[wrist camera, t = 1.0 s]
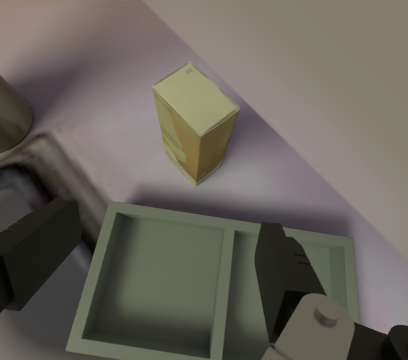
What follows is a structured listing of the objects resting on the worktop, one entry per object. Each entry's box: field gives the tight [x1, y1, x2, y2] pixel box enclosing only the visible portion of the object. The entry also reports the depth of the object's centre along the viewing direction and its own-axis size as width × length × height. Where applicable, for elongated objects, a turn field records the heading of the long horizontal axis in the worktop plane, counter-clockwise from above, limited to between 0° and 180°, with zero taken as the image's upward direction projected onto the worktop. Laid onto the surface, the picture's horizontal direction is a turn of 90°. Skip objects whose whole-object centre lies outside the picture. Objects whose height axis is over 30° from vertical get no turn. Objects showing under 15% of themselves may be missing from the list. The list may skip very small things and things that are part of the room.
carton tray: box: [66, 201, 360, 360], centre depth 23 cm, size 25×13×4 cm, turn 82°
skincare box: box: [152, 62, 240, 186], centre depth 24 cm, size 6×4×12 cm
